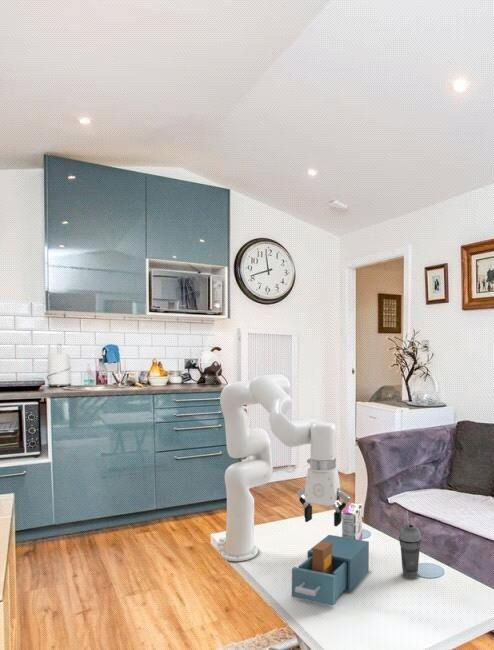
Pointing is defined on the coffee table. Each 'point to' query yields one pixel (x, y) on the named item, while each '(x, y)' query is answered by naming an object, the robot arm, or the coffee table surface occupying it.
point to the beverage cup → (410, 550)
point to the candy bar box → (352, 521)
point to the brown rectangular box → (322, 557)
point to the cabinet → (350, 557)
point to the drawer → (319, 582)
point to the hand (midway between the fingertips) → (322, 522)
